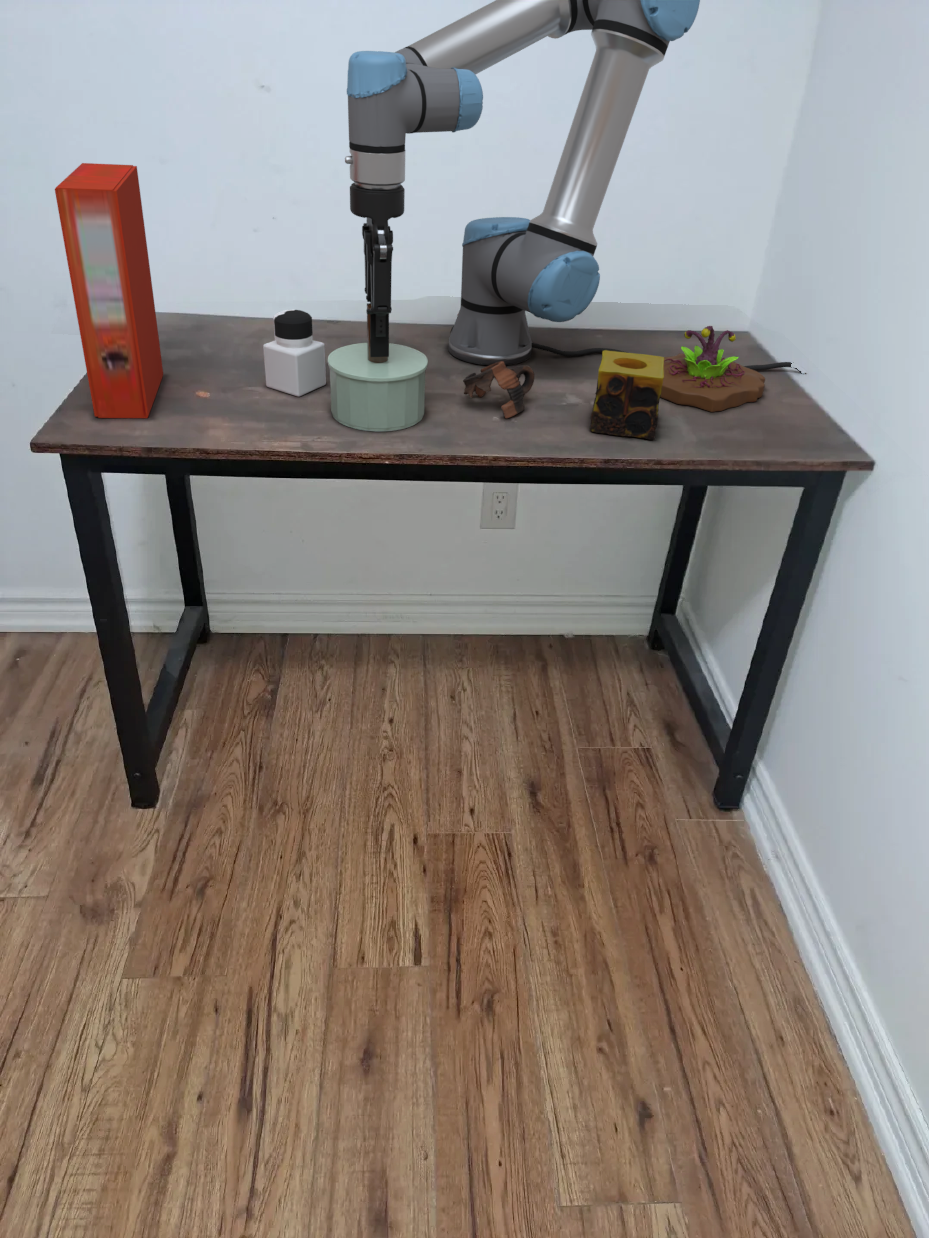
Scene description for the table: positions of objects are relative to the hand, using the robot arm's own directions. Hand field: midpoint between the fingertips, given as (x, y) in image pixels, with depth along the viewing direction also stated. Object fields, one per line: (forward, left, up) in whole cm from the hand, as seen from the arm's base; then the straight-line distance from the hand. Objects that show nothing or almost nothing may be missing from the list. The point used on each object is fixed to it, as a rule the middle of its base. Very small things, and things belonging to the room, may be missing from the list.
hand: (377, 351), depth 142 cm
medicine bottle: (+12, -12, -10) cm, 20 cm away
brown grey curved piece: (-20, -1, -10) cm, 22 cm away
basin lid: (0, 0, -2) cm, 2 cm away
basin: (0, 0, -10) cm, 10 cm away
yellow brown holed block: (-38, +8, -10) cm, 40 cm away
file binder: (+38, -10, -10) cm, 40 cm away
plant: (-57, -6, -10) cm, 58 cm away
